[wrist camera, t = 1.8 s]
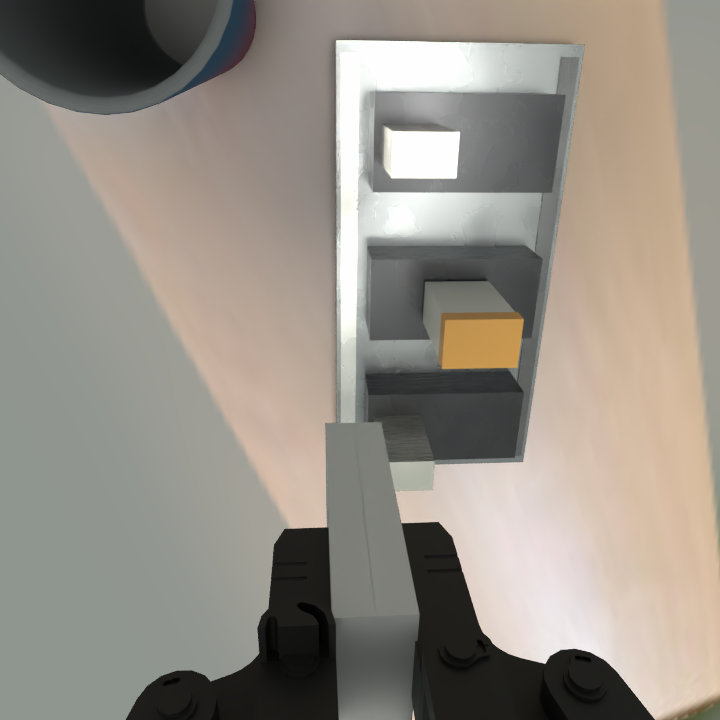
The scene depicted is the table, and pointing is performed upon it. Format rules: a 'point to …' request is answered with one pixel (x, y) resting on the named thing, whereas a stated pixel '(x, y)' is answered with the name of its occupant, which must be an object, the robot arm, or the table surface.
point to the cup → (120, 49)
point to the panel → (444, 233)
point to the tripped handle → (471, 325)
